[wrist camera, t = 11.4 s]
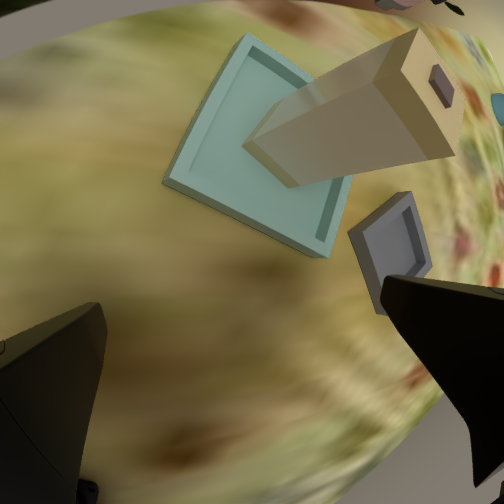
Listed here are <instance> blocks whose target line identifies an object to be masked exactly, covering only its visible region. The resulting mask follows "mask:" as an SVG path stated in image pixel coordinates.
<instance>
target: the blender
mask: <svg viewBox="0 0 504 504" xmlns="http://www.w3.org/2000/svg"><path fill="white" fill-rule="evenodd" d="M422 1H424V0H375V4H376V5H377V6H378V7H380V8H382V9H383V10H388V9H391V8H395V9H397V10H405V9H407V8H409V7H411V6H413V5H415V4H417V3H419V2H422ZM431 1H432V2H433V4H435V5H437V4H440V3H442V2H444V1H446V0H431Z"/></svg>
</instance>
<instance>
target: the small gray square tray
mask: <svg viewBox="0 0 504 504" xmlns="http://www.w3.org/2000/svg"><path fill="white" fill-rule="evenodd" d="M348 234H349V237H350V240H351V242H352V245H353V248H354V250H355V253H356V256H357V258H358V261H359V264H360V267H361V269H362V272H363V275H364V278H365V281H366V284H367V287H368V290H369V292H370V295H371V298H372V301H373V304H374V308H375V311H376V314H381V315H385V316H388V315H387V313H386V312H385V310H384V309H383V307H382V305H381V303H380V294H381V289H382V285H383V280H384V278H385V277H386V276H387V275H394V274H397V275H405V276H412V277H419V278H424V276H425V275H426V274H427V273H428V271H429V270H430V269H431V268H432V262H431V257H430V253H429V249H428V245H427V242H426V238H425V234H424V230H423V227H422V223H421V220H420V216H419V213H418V210H417V206H416V203H415V200H414V197H413V194H412V191H405V192H398V193H397V194H395V195H394V196H393V197H392V198H390V199H389V200H388V201H387V202H385V203H384V204H383V205H382V206H380V207H379V208H378V209H377V210H375V211H374V212H373V213H372V214H370V215H369V216H368V217H367V218H365V219H364V220H363V221H362V222H360V223H359V224H358V225H356V226H355V227H354V228H353V229H351V230H350V231H349V232H348Z"/></svg>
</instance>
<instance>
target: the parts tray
mask: <svg viewBox="0 0 504 504" xmlns="http://www.w3.org/2000/svg"><path fill="white" fill-rule="evenodd" d="M313 80H315V79H314V78H313V77H312V76H310V75H309V74H308V73H306V72H305V71H304V70H302V69H301V68H300V67H298V66H297V65H295V64H294V63H293V62H291V61H290V60H288V59H287V58H286V57H284V56H283V55H281V54H280V53H278V52H277V51H275V50H274V49H272V48H271V47H269V46H268V45H266V44H265V43H263V42H262V41H260V40H259V39H257V38H256V37H254V36H252V35H251V34H249V33H248V32H246V34H245V35H244V36H243V37H242V38H241V39H240V40H239V41H238V42H237V43H236V44H235V45H234V47H233V49H232V50H231V52H230V54H229V55H228V57H227V59H226V60H225V62H224V64H223V65H222V67H221V69H220V70H219V72H218V74H217V76H216V77H215V79H214V81H213V83H212V84H211V86H210V88H209V90H208V92H207V93H206V95H205V97H204V99H203V101H202V103H201V104H200V106H199V108H198V110H197V112H196V114H195V116H194V118H193V119H192V121H191V123H190V125H189V127H188V129H187V131H186V133H185V135H184V137H183V139H182V141H181V143H180V145H179V147H178V149H177V151H176V153H175V155H174V157H173V160H172V162H171V164H170V166H169V168H168V170H167V172H166V174H165V177H164V179H163V181H162V184H165V185H167V186H169V187H171V188H173V189H175V190H177V191H179V192H181V193H183V194H185V195H187V196H189V197H192V198H194V199H196V200H198V201H200V202H202V203H204V204H206V205H208V206H210V207H212V208H214V209H216V210H218V211H220V212H222V213H224V214H226V215H228V216H230V217H232V218H234V219H236V220H239V221H241V222H243V223H245V224H247V225H249V226H251V227H253V228H255V229H257V230H259V231H261V232H263V233H265V234H267V235H269V236H271V237H273V238H275V239H277V240H279V241H281V242H283V243H285V244H287V245H289V246H290V247H292V248H294V249H296V250H298V251H300V252H302V253H304V254H306V255H308V256H310V257H312V258H326V259H329V257H330V254H331V251H332V248H333V244H334V241H335V238H336V235H337V231H338V228H339V224H340V221H341V218H342V214H343V211H344V207H345V204H346V200H347V197H348V193H349V189H350V186H351V182H352V178H353V175H354V174H353V175H348V176H343V177H338V178H333V179H329V180H324V181H320V182H315V183H310V184H306V185H301V186H297V187H293V188H287V187H286V186H285V185H284V184H283V183H281V182H280V181H279V180H278V179H277V178H276V177H275V176H274V175H273V174H272V173H271V172H270V171H268V170H267V169H266V168H265V167H264V166H263V165H262V164H261V163H260V162H259V161H257V160H256V159H255V158H254V157H253V156H252V155H251V154H250V153H248V152H247V151H246V150H245V149H244V148H243V147H242V145H243V143H244V142H245V141H246V139H247V138H248V137H249V135H250V134H251V133H252V131H253V130H254V129H255V128H256V126H257V125H258V124H259V122H260V121H261V120H262V119H263V117H264V116H265V115H266V113H267V112H268V111H269V110H270V108H271V107H272V106H273V105H274V104H275V103H277V102H278V101H280V100H282V99H283V98H285V97H286V96H288V95H290V94H291V93H293V92H295V91H296V90H298V89H300V88H301V87H303V86H305V85H307V84H308V83H310V82H312V81H313Z"/></svg>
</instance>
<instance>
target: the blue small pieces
mask: <svg viewBox="0 0 504 504" xmlns="http://www.w3.org/2000/svg"><path fill="white" fill-rule="evenodd" d="M491 102H492V107H493V110H494V113H495V116H496V118H497V121H498V123H499V124H500V125H501V126H502V125H504V94H501V93H496V94H492V95H491Z"/></svg>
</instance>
